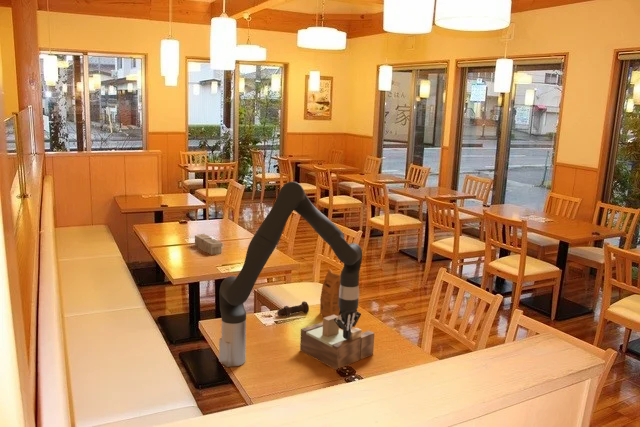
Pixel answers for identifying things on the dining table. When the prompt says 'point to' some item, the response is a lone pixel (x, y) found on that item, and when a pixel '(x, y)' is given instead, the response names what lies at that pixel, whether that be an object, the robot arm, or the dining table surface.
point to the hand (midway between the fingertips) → (346, 338)
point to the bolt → (294, 309)
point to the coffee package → (330, 295)
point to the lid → (328, 332)
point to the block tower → (208, 244)
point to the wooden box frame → (337, 348)
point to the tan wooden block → (355, 333)
